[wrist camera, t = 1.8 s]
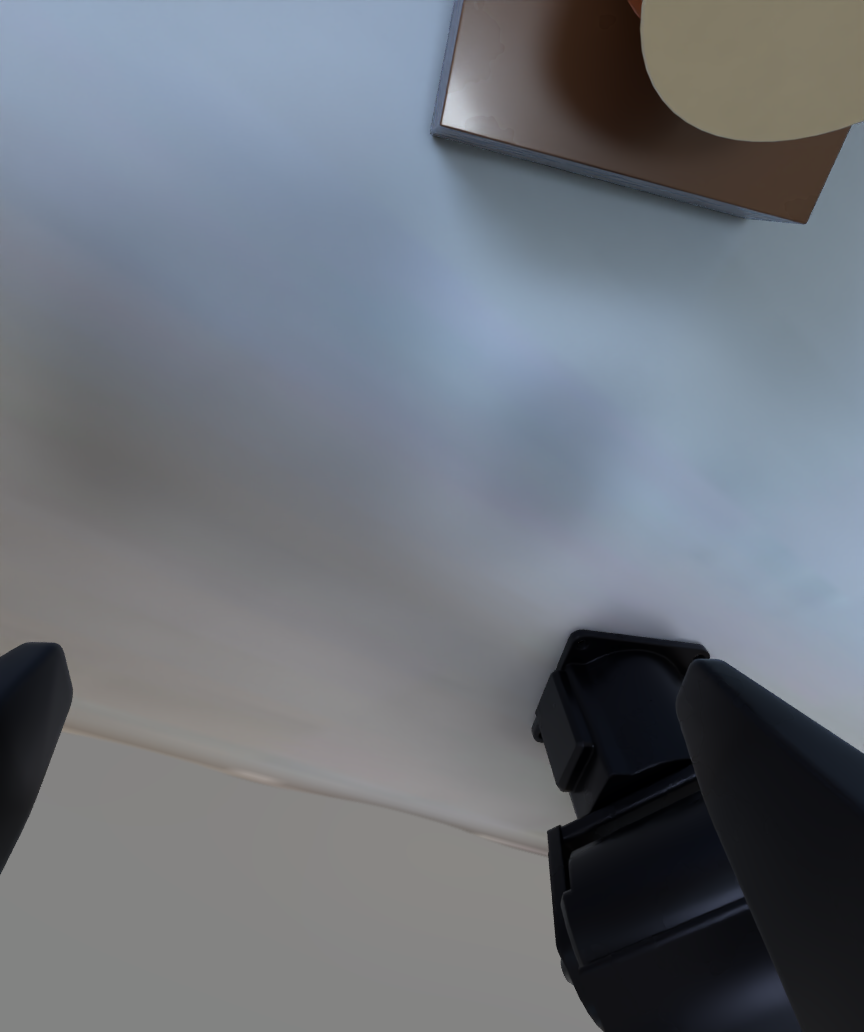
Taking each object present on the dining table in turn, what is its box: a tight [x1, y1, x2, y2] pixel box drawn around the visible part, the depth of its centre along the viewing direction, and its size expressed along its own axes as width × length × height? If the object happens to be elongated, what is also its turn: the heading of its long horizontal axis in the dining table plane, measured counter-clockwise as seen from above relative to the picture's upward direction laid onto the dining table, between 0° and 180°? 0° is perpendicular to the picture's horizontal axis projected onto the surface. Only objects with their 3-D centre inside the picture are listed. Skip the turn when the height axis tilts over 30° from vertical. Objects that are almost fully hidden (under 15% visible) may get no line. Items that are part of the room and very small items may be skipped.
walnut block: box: [430, 0, 851, 224], centre depth 16 cm, size 10×4×3 cm, turn 77°
